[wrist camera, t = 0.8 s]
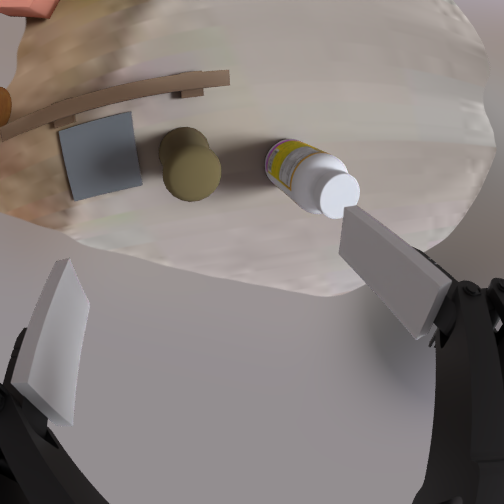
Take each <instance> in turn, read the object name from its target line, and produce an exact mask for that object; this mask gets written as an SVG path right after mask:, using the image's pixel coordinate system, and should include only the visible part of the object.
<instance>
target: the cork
mask: <svg viewBox="0 0 504 504" xmlns="http://www.w3.org/2000/svg"><path fill="white" fill-rule="evenodd" d="M159 159H160V161H161V164H162V166H163V181H164V184H165V186H166V188H167V190H168V191H169V192H170V193H171V194H172V195H173V196H175V197H176V198H178V199H180V200H183V201H188V202H192V201H199V200H202V199H204V198H207V197H208V196H209V195H210V194H212V193H213V192H214V190H215V189H216V188H217V186H218V185H219V181H220V178H221V165H220V162H219V159H218V157H217V156H216V155H215V154H214V152H213V151H212V150H211V149H209V145H208V142H207V139H206V138H205V136H204V135H203V134H202V133H201V132H199V131H198V130H196V129H194V128H190V127H181V128H177V129H175V130H172V131H171V132H169V133H168V134H167V135H166V136H165V137H164V139H163V140H162V142H161V144H160V147H159Z"/></svg>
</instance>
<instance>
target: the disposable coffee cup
mask: <svg viewBox="0 0 504 504" xmlns="http://www.w3.org/2000/svg"><path fill="white" fill-rule="evenodd" d="M11 107H12V103H11V97H10V94H9V93H8V91H7V90H6V89H5V88H3V87H0V127H2V126H4V125H6V124H7V122H8V120H9V117H10V113H11Z"/></svg>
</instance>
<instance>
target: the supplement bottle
mask: <svg viewBox="0 0 504 504" xmlns="http://www.w3.org/2000/svg"><path fill="white" fill-rule="evenodd" d="M265 171H266V174H267V176H268V178H269V179H270V180H271V182H273V183H274V184H275V185H276V186H277V187H278V188H279V189H280V190H282V191H283V192H284V193H285V194H286V195H287V196H289V197H290V198H291V199H292V200H293V201H294V202H295V203H296V204H298V205H299V206H300V207H301V208H302V209H304V210H305V211H307V212H309V213H313V214H324V215H325V216H327V217H329V218H331V219H339V218H342V217H343V213H344V207H348V206H355V205H356V204H357V202H358V199H359V193H360V189H359V185H358V182H357V180H356V179H355V178H354V177H353V176H351V175H350V174H348V171H347V169H346V167H345V165H344V164H343V162H342V161H341V160H339V159H338V158H337V157H335V156H333V155H331V154H328V153H326V152H324V151H322V150H319V149H317V148H315V147H312V146H310V145H308V144H305V143H303V142H301V141H298V140H294V139H286V140H282V141H280V142H278V143H277V144H275V145H274V146H273V147H272V148H271V149H270V150H269V152H268V154H267V156H266V159H265Z"/></svg>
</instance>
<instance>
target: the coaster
mask: <svg viewBox="0 0 504 504" xmlns="http://www.w3.org/2000/svg"><path fill="white" fill-rule="evenodd" d="M59 136H60V142H61V147H62V152H63V157H64V161H65V166H66V170H67V174H68V178H69V182H70V186H71V190H72V194H73V197H74V201H78V200H82V199H86V198H90V197H94V196H98V195H102V194H106V193H110V192H114V191H119V190H123V189H127V188H132V187H137V186H141V185H143V183H142V178H141V172H140V166H139V161H138V155H137V148H136V142H135V135H134V128H133V120H132V112H126V113H122V114H117V115H113V116H109V117H105V118H101V119H98V120H94V121H90V122H87V123H83V124H80V125H77V126H73V127H70V128H67V129H64V130H61V131H59Z"/></svg>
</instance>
